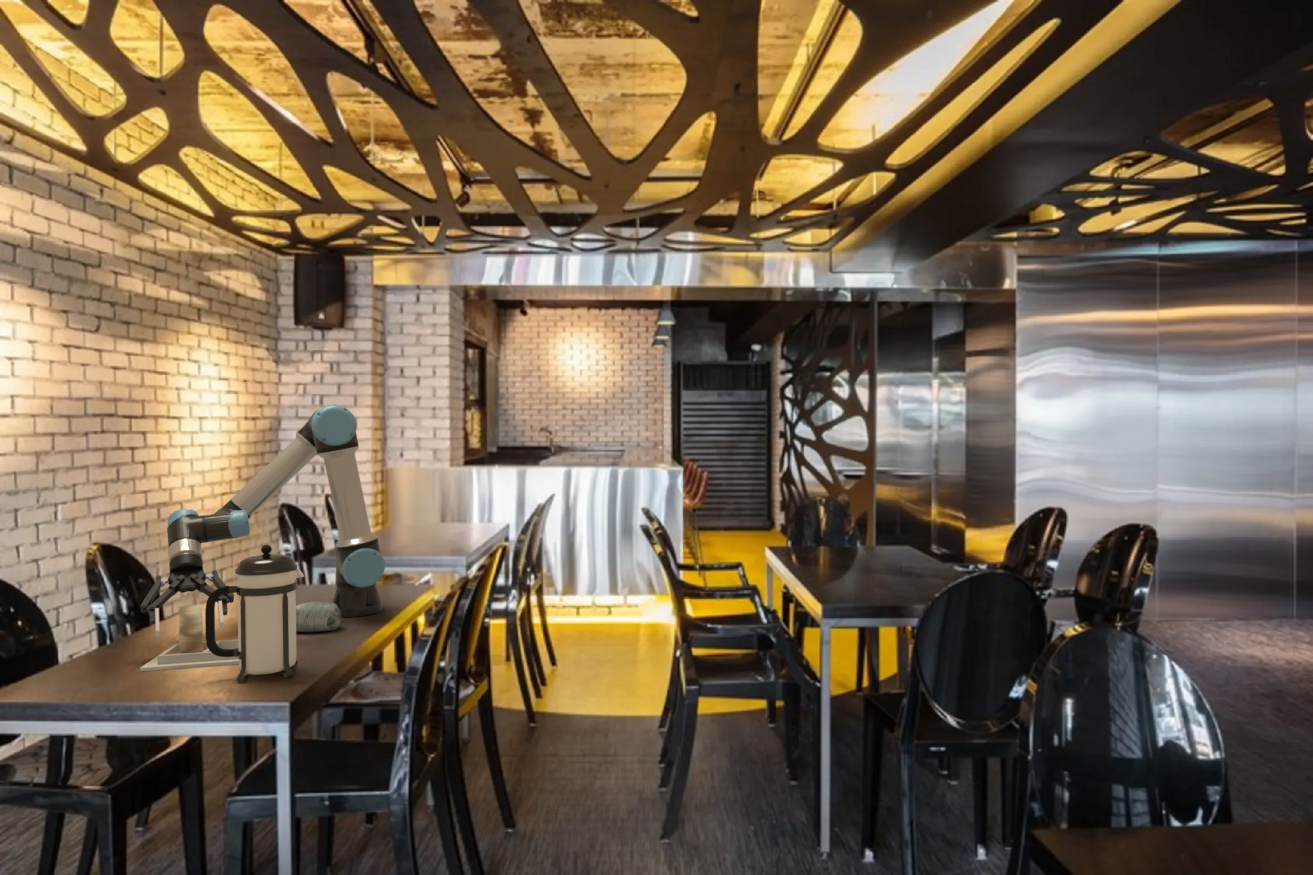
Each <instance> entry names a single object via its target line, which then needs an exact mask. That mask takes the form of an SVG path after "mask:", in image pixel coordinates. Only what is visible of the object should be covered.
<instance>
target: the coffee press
mask: <svg viewBox="0 0 1313 875" xmlns="http://www.w3.org/2000/svg"><path fill="white" fill-rule="evenodd" d="M260 551H261V553H262V554H260V555H259V554H258V555H253V556H249V557H246V558H244V559H242V560H241V561H240V562H239V563H238V565H237V567H236V569H234V570H235V571H234V573H235V575H236V577H237V580H236V581H237V585H226V586H224V587H221V588H218V589H217V588H216V589H215V591H214V592H213V593H212V594H211V595H210V596H208V598H207V600H206V604H205V611H204V612H205V613H204V614H205V615H204V617H205V618H204V619H205V620H204V621H205V622H204V624H205V641H206V643H207V647H208V649H209V650H210V652H212V653H213V654H214V655H216V656H220V657H237V658H238V659H239V664H238V668H239V670H240V671H239V674H238V675H237V677H236V682H238V683H241V684H245V683H246V682H247V680H248V679H249V678H250V677H252V676H255V675H269V674H275V673H280V675H282V677H283V679H285V680H287V679H289V678H292V677H293V671H292V669H291V668H293V667H294V668H296V667H297V665H298V662H299V661H298V660H297V631H296V605H297V601H296V600H297V598H296V596H297V593H296V591H297V584H298V583H297V580H296V579H298V578H304V574H303V572H302V571H301V570H300V568H298V564H297V563H295V560H294V559H293V557H291V556H289V555H287V554H275V553H274V554H271V552H272V551H273V548H272V546H271V545H269V544H264V545H263V546H261V549H260ZM229 593H233V594H235V595H237V639H238V648H236V649H222V648H220V647H219V646H218V645H217V644H216V641H217V640H216V613H215V612H216V611H215V610H216V609H215V607H216V603H217V602H216V600H217V599H218V597H220V596H221V595H224V594H229Z"/></svg>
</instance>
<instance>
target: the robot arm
mask: <svg viewBox="0 0 1313 875" xmlns="http://www.w3.org/2000/svg"><path fill="white" fill-rule="evenodd" d="M357 425H358V424H357V420H356V418H355V415H354V414H353V412H351V410H349V408H347V407H346V406H343V405H340V404H335V403H333V404H328V405H323V406H321V407H319V408H318V409H317V410H315V411H314V412H313V413H312V415H311V416H310V418H309V419H308V420H307V421H306V423H305V424H304V425H303V426H302V427H301V428H300V429H299V430H298V431H297V432H296V434H295V439H293V441H291V442H290V443H289V444H288V445H287V446H286V447H285V448H284V449H283V450H282V451H281V452H280V453H279V454H277V455H276V456H275V457H274V458H273V459H272V460H271V461H270V462H269V463H268V464H267V465H266V466H265V467H263V468H262V469H261V470H260V471H258V473H257V474H256V475H255V476H254V477H253V478H252V479H251V480H250V481H249V482H248V483H247V484H246V485H244V486H243V487H242V488H241V489H240V490H239V491H238V492H237V493H236V494H235V495H234V496H233V497H231V498H230V500H228V501H227V502H226V503H225V504H224V505H223V506H222V507H220V508H219V509H217V510H216V512H214V513H211V514H206V515H205V514H204V515H199V513H198V512H197V511H195V510H194V509H187V508H182V509H181V508H180V509H177V510H175V511H173V512H172V513H170V514H169V516H168V518H167V528H166V530H167V531H166V532H167V543H168V544H167V545H168V546H167V547H168V563H169V564H168V565H169V568H168V569H169V576H168V577H162V576H161V575H156V576H155V580H154V584H153V586H151V589H150V590H149V591H148V593H147V594H146V596H145V598H144V599H143V601H142V603H141V604H140V612H141V613H142V614H146V613H147V614H148V615H149V624H150V625H155V626H154V627H155V638H158V637H160V636H161V635H160V634H161V633H160V631H161V630H160V628H161V627H160V609H161V608H162V607H163V606H164V605H166V603H167V602H168V601H169V600H170V599H171V598H172V597H173V596H175V595H176V594H177V593H178V592H179V593H180V594H181V593H182V594H183V593H187V592H190V593H191V592H195V591H198V592H199V593H203V594H204V595H206V596H207V597H209V596H210V595H211V594H212V593H213V592H214V591H215V590H216V589H218V588H221V587H224V586H227V585H226V583H225V582H224V581H223V580H222V579H221V578H220V576H219V574H218V573H219V572H218V570H215V569H214V570H212V571H211V572H210V573H205V572H204V571H205V570H204V564H203V563H204V562H203V550H202V548H203V547H202V544H204V543H205V544H207V543H211V542H217V541H218V542H219V541H224V540H225V541H226V540H232V539H235V540H236V539H239V538H243V537H248V536H249V535H250V534H251V528H250V521H249V520H250V518H252V516H253V515H254V514H256V513H257V512H258V510H260V509H261V508H262V506H264V505H265V504H267V502H268V501H269V500H271V499H272V497H274V495H276V494H277V493H278V492H279V491H280V490H281V489H282V488H283V487H284V486H285V485H286V484H287V483H288V482H289V481H290V480H291V479H293V478H294V476H296V475H297V474H298V473H299V472H300V471H301V470H302V469H303V468H304V467H306V465H307V464H308V463H309V462H311V460H313V459H314V458H315V457H316V456H318V457H320V458H322V459H323V461H324V462H323V463H324V467H325V472H326V475H327V481H328V485H329V486H328V487H329V490H330V495H331V501H332V504H333V510H334V514H335V518H336V524H337V528H338V533H339V537H340V538H339V539H338V540H337V541H336V542H335V548H334V552H335V581H336V582H335V583H336V584H335V585H336V586H335V587H336V588H335V592H334V596H333V597H332V600H331V601H332V602H331V603H335V604H336V605H337V606H338V608H339V610H340V614H341V618H351V617H352V618H353V617H355V618H357V617H362V616H364V617H365V616H369V615H370V616H371V615H374V614H378V613H380V612H382V611H383V601H382V598H381V596H380V592H379V591H378V587H377V582H379V581H380V580H381V578H382V577H383V575H384V573H385V570H386V568H385V567H386V562H385V559H384V556H383V555H382V554H381V549H380V545H379V544H380V543H379V539H378V538H379V537H378V536H377V535H376V534H375V533H373V532H372V531H371V527H370V522H369V517H368V512H367V508H366V507H367V506H366V502H365V497H364V491H363V488H362V483H361V482H362V481H361V479H360V478H361V477H360V473H359V468H358V464H357V463H358V462H357V458H356V457H357V456H356V452H357V450H358V449H359V447H360V445H359V441H358V437H357V429H358V427H357ZM206 580H208V581H209V582H210V583H212V584H213V585H214V586H215V587H216V589H215V588H213V587H212V586H210V585H209V584H207V581H206ZM167 584H168V588H167V589H165V591H163V593H162V594H161V595H160V596H159V597H158V598H156V597H157V595H158V594H159V593H160V591H161V588H163V587H164V586H165V585H167ZM234 599H235V593H229V594H224V595H221V596H220V597H218V599H217V600H216V603H217V604H218V605H217V611H218V612H217V614H218V623H219V629H224V625H225V624H224V623H225V622H224V616H227V615H228V611H229V610H228V604H229V603H230V604H232V603H234V601H235V600H234Z"/></svg>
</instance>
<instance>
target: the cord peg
mask: <svg viewBox="0 0 1313 875" xmlns="http://www.w3.org/2000/svg"><path fill="white" fill-rule="evenodd" d="M178 643H179V654H183V653H198V652H203V604H187V605H186V604H185V605H182V606H179V607H178Z"/></svg>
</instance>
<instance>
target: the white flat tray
mask: <svg viewBox="0 0 1313 875" xmlns="http://www.w3.org/2000/svg"><path fill="white" fill-rule="evenodd" d="M215 641H216V644H217V645H218V646H219V647H220V648H222V649H236V648H238V638H236V639H222V640H219V639H218V640H215ZM232 665H233V666H235V665H236V666H237V665H239V659H238V658H237V657H220V656H216V655H214V654H213V653H212V652H210V650H209V649H208V647H207V643H206V640H205V641H203V652H198V653H183V654H179V642H178V643H177V642H176V643H174V644H173V645H171V646H170V647H169V648H167V649H165V650H164V651H162V652H161V653H160V654H158V655H156V656H155V657H153V659H151V660H150V661H148V662H147V663H145V664H144V665H142V666H141V667H140V668H139V672H150V671H153V672H154V671H164V670H165V671H166V670H179V669H192V668H207V667H219V666H232Z"/></svg>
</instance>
